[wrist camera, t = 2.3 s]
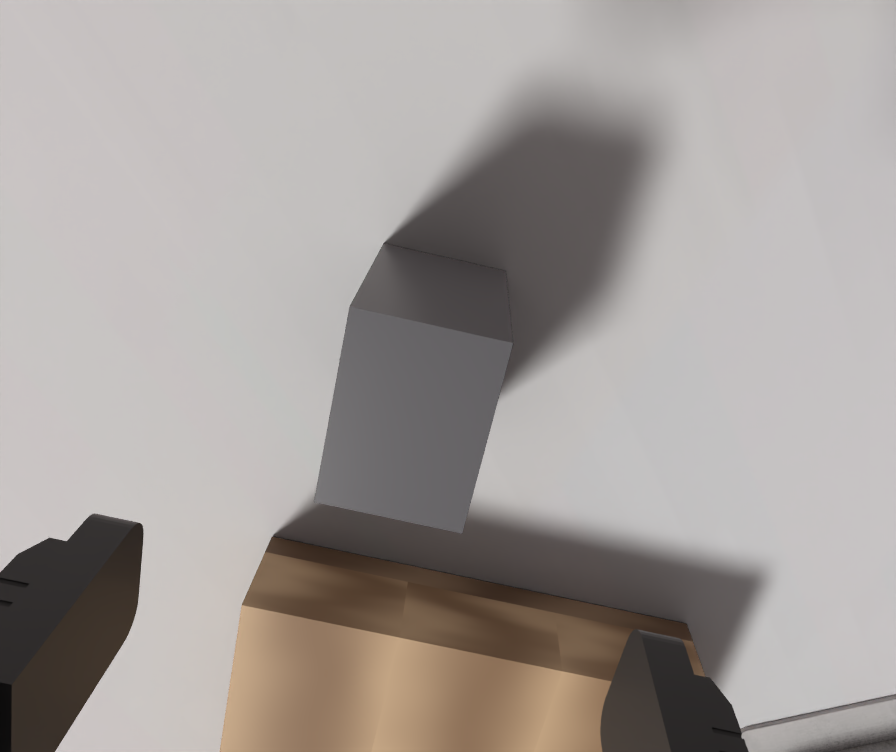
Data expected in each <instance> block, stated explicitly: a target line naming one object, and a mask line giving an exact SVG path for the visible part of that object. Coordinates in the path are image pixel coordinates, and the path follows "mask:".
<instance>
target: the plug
mask: <svg viewBox="0 0 896 752" xmlns="http://www.w3.org/2000/svg"><path fill="white" fill-rule="evenodd" d="M512 346H513V336H512V326H511V316H510V307H509V297H508V287H507V278H506V271H504V270H499V269H495V268H491V267H486V266H482V265H477V264H473V263H469V262H464V261H460V260H455V259H451V258H447V257H442V256H438V255H433V254H429V253H425V252H420V251H416V250H412V249H407V248H403V247H398V246H394V245H390V244H385V243H384V244H383V246H382V247H381V249H380V251H379V253H378V255H377V257H376V259H375V260H374V262H373V264H372V266H371V268H370V270H369V272H368V273H367V275H366V277H365V279H364V281H363V283H362V285H361V286H360V288H359V290H358V292H357V294H356V296H355V297H354V299H353V301H352V303H351V305H350V307H349V313H348V318H347V324H346V329H345V335H344V340H343V346H342V351H341V357H340V362H339V368H338V373H337V379H336V384H335V390H334V395H333V401H332V406H331V412H330V417H329V423H328V428H327V434H326V439H325V445H324V450H323V455H322V461H321V466H320V472H319V477H318V483H317V488H316V494H315V499H314V502H316V503H320V504H325V505H330V506H334V507H339V508H344V509H348V510H353V511H358V512H363V513H367V514H372V515H377V516H381V517H386V518H391V519H395V520H400V521H405V522H410V523H414V524H419V525H424V526H428V527H433V528H438V529H442V530H447V531H452V532H456V533H461V534H462V533H463V529H464V525H465V521H466V518H467V514H468V510H469V506H470V503H471V499H472V495H473V492H474V488H475V484H476V480H477V477H478V473H479V469H480V465H481V462H482V458H483V454H484V451H485V447H486V443H487V439H488V436H489V432H490V428H491V424H492V421H493V417H494V413H495V409H496V406H497V402H498V398H499V395H500V391H501V387H502V383H503V380H504V376H505V372H506V368H507V365H508V361H509V357H510V354H511V350H512Z"/></svg>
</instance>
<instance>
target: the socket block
mask: <svg viewBox="0 0 896 752" xmlns="http://www.w3.org/2000/svg"><path fill="white" fill-rule="evenodd" d="M635 629H638V630H642V631H647V632H652V633H657V634H661V635H666V636H671V637H676V638H680V639H681V640H682V641H683V642H684V645H685V647H686V650H687V653H688V656H689V660H690V663H691V666H692V669H693V672H694V675H699V676H704V677H705V674H704V671H703V668H702V666H701V663H700V660H699V657H698V654H697V652H696V649H695V646H694V643H693V640H692V638H691V635H690V632H689V629H688V626H687V624H685V623H680V622H675V621H671V620H666V619H661V618H656V617H652V616H647V615H642V614H638V613H633V612H628V611H623V610H619V609H614V608H609V607H604V606H600V605H595V604H590V603H585V602H581V601H576V600H571V599H566V598H562V597H557V596H552V595H547V594H543V593H538V592H533V591H528V590H524V589H519V588H514V587H509V586H505V585H500V584H495V583H490V582H486V581H481V580H476V579H471V578H467V577H462V576H457V575H452V574H448V573H443V572H438V571H433V570H429V569H424V568H419V567H414V566H410V565H405V564H400V563H395V562H391V561H386V560H381V559H377V558H372V557H367V556H362V555H358V554H353V553H348V552H343V551H339V550H334V549H329V548H324V547H320V546H315V545H310V544H305V543H301V542H296V541H291V540H286V539H282V538H277V537H272V538H271V540H270V542H269V545H268V547H267V549H266V551H265V554H264V556H263V558H262V561H261V563H260V565H259V567H258V570H257V572H256V574H255V576H254V579H253V581H252V583H251V585H250V588H249V590H248V592H247V594H246V597H245V599H244V601H243V603H242V607H241V614H240V620H239V627H238V634H237V640H236V647H235V653H234V660H233V667H232V673H231V680H230V687H229V693H228V700H227V707H226V713H225V720H224V726H223V733H222V740H221V746H220V752H602V746H601V736H600V726H601V716H602V710H603V705H604V701H605V698H606V695H607V693H608V690H609V687H610V685H611V682H612V679H613V677H614V674H615V671H616V669H617V666H618V663H619V661H620V658H621V655H622V653H623V650H624V647H625V645H626V642H627V640H628V637H629V635H630V634H631V632H632V631H633V630H635Z"/></svg>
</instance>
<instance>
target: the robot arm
mask: <svg viewBox="0 0 896 752" xmlns="http://www.w3.org/2000/svg"><path fill="white" fill-rule="evenodd" d="M142 547H143V526H142V524H141V523H137V522H132V521H128V520H123V519H118V518H113V517H109V516H104V515H99V514H92V515H90V516H89V517H88V518H87V519H86V520H85V521H84V522H83V524H82V525H81V526H80V527H79V528H78V529H77V530H76V532H75V533H74V534H73V535H72V536H71V537H70V538H69V540H68V541H62V540H58V539H53V538H48V539H46V540H44V541H42V542H40V543H38V544H37V545H35V546H33V547H31V548H29V549H27V550H25V551H23V552H21V553H19V554H18V555H17V556H16V557H15V558H14V559H13V560H12V561H11V562H10V563H9V564H8V565H7V566H6V567H5V568H4V569H3V570H2V571H1V572H0V752H55V751H56V749H57V747H58V746H59V744H60V743H61V741H62V739H63V738H64V736H65V735H66V733H67V732H68V730H69V728H70V727H71V725H72V724H73V722H74V720H75V719H76V717H77V716H78V714H79V713H80V711H81V709H82V708H83V706H84V705H85V703H86V701H87V700H88V698H89V697H90V695H91V694H92V692H93V690H94V689H95V687H96V686H97V684H98V682H99V681H100V679H101V678H102V676H103V675H104V673H105V671H106V670H107V668H108V667H109V665H110V664H111V662H112V660H113V659H114V657H115V656H116V654H117V652H118V651H119V649H120V648H121V646H122V645H123V643H124V641H125V639H126V638H127V636H128V633H129V631H130V629H131V626H132V623H133V620H134V617H135V614H136V610H137V605H138V597H139V584H140V572H141V559H142ZM600 736H601V746H602V752H749V751H748V748H747V746H746V743H745V740H744V739H742V737H741V736H742V732H741V729H740V727H739V724H738V721H737V718H736V716H735V713H734V710H733V708H732V705H731V704H730V702H729V701H728V700H727V699H726V697H725V696H724V695H723V694H722V692H721V691H720V690H719V689H718V687H717V686H716V685H715V684H714V682H713V681H712V680H711V679H710V678H708V677H704V676H699V675H694V672H693V669H692V666H691V663H690V660H689V656H688V653H687V650H686V647H685V645H684V642H683V641H682V640H681V639H680V638H676V637H671V636H666V635H661V634H657V633H652V632H647V631H642V630H638V629H635V630H633V631H632V632H631V634H630V635H629V637H628V640H627V642H626V645H625V647H624V650H623V653H622V655H621V658H620V661H619V663H618V666H617V669H616V671H615V674H614V677H613V679H612V682H611V685H610V687H609V690H608V693H607V695H606V698H605V701H604V705H603V710H602V716H601V726H600Z"/></svg>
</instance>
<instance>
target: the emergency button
mask: <svg viewBox="0 0 896 752" xmlns="http://www.w3.org/2000/svg"><path fill="white" fill-rule="evenodd" d="M741 732H742V736H741V737H742V739H744V740H745V743H746V746H747V748H748V751H749V752H896V695H893V696H888V697H884V698H879V699H874V700H870V701H865V702H860V703H856V704H851V705H846V706H842V707H837V708H832V709H828V710H823V711H818V712H814V713H809V714H804V715H800V716H795V717H790V718H786V719H781V720H777V721H772V722H767V723H763V724H758V725H753V726H749V727H744V728H742V729H741Z"/></svg>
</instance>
